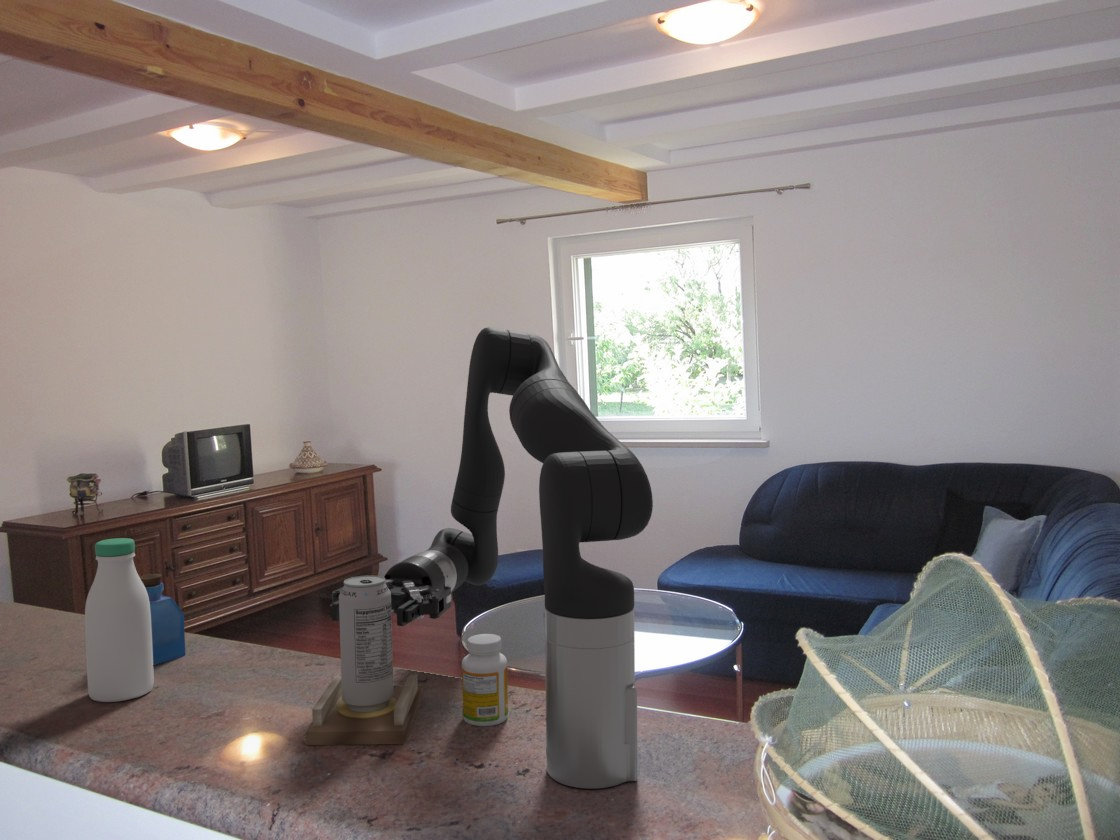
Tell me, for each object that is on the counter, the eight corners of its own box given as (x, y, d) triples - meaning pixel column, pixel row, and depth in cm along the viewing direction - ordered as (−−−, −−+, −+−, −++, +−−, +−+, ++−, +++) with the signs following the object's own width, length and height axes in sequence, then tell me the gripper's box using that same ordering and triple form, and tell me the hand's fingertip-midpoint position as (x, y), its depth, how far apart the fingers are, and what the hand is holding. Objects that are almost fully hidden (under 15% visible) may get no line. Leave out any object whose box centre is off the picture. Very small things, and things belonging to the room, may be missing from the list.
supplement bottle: (485, 706, 113) (483, 629, 112) (517, 716, 109) (516, 637, 109) (453, 720, 109) (451, 639, 108) (486, 731, 105) (484, 648, 105)
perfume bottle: (185, 655, 134) (182, 574, 133) (146, 667, 128) (142, 583, 128) (159, 648, 137) (156, 569, 136) (120, 660, 132) (117, 578, 131)
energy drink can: (382, 691, 113) (378, 571, 112) (401, 706, 108) (398, 581, 107) (334, 702, 110) (331, 579, 109) (353, 718, 105) (349, 589, 104)
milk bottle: (164, 691, 119) (157, 539, 118) (102, 709, 113) (94, 549, 112) (139, 678, 124) (133, 532, 123) (79, 693, 119) (71, 541, 117)
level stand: (422, 697, 116) (422, 670, 116) (404, 743, 102) (404, 713, 102) (335, 698, 116) (335, 671, 116) (306, 745, 102) (305, 714, 102)
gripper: (372, 552, 126) (311, 581, 110) (469, 557, 122) (421, 587, 106) (373, 606, 126) (313, 642, 111) (470, 612, 123) (423, 650, 107)
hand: (366, 615), depth 108 cm, fingers open, 8 cm apart
